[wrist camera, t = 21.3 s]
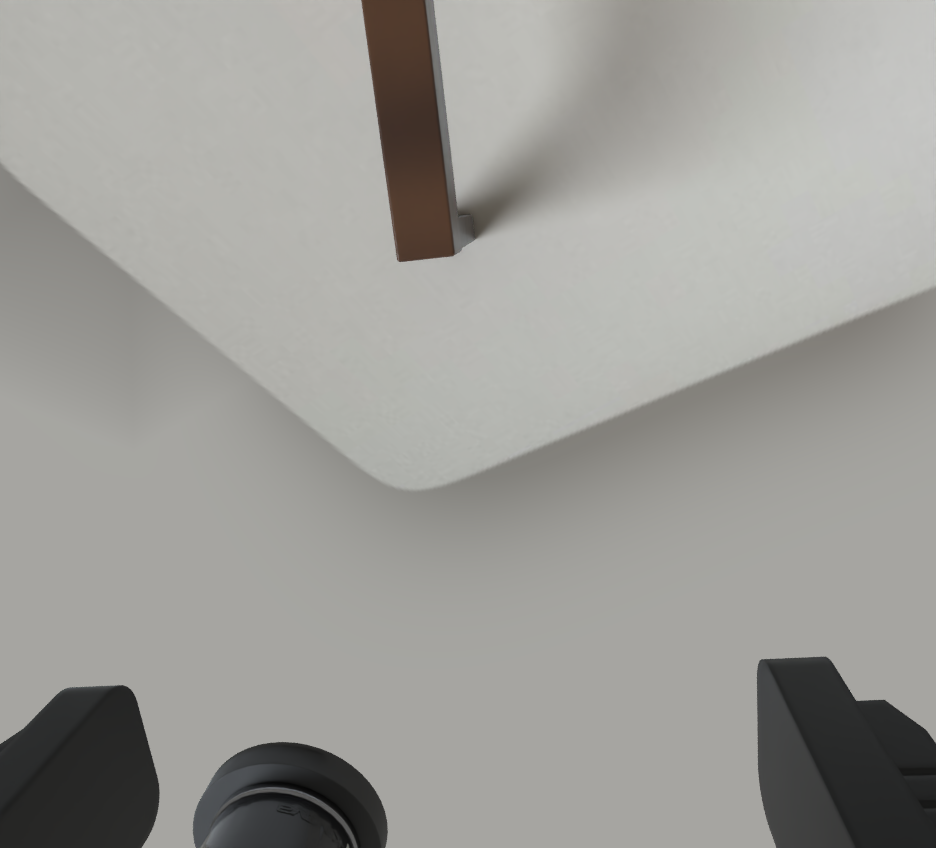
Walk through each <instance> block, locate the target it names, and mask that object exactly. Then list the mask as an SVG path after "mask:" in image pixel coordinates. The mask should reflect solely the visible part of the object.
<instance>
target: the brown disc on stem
mask: <svg viewBox="0 0 936 848" xmlns="http://www.w3.org/2000/svg"><path fill="white" fill-rule="evenodd" d="M361 1H362V9H363V16H364V23H365V30H366V38H367V45H368V52H369V59H370V66H371V74H372V81H373V88H374V95H375V103H376V110H377V117H378V124H379V132H380V139H381V146H382V153H383V161H384V168H385V175H386V182H387V190H388V197H389V204H390V211H391V219H392V226H393V233H394V240H395V248H396V255H397V260H398V261H399V262H405V261H414V260H423V259H432V258H441V257H450V256H454V255H455V254H457V253H459V252H460V251H461V250H462V247H464V246H466V245H467V244H469V243H471V242H472V241H474V240H475V236H474V227H473V218H472V215H471V214H468V215H460V216H458V211H457V202H456V193H455V184H454V176H453V167H452V158H451V150H450V141H449V132H448V124H447V115H446V106H445V98H444V89H443V80H442V71H441V63H440V54H439V45H438V37H437V28H436V19H435V11H434V2H433V0H361Z"/></svg>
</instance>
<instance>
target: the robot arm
mask: <svg viewBox="0 0 936 848" xmlns="http://www.w3.org/2000/svg"><path fill="white" fill-rule="evenodd" d="M757 705H758V708H757V709H758V772H759V782H760V790H761V795H762V801H763V806H764V810H765V814H766V818H767V822H768V825H769V828H770V831H771V834H772V836H773V839H774V842H775V844H776V848H936V743H935V742H934V740H933V739H932V738H931V736H930V735H929V733H928V732H927V731H926V730H925V729H924V728H923V727H921V726H920V725H918V724H917V723H916V722H914V721H913V720H911V719H910V718H909V717H907V716H906V715H904V714H903V713H902V712H900V711H899V710H898V709H896V708H895V707H893V706H892V705H891V704H889V703H888V702H887V701H885V700H869V701H856V700H855V698H854V697H853V695H852V693H851V692H850V690H849V689H848V687H847V685H846V684H845V682H844V681H843V679H842V677H841V676H840V674H839V673H838V671H837V669H836V668H835V666H834V665H833V663H832V662H831V661H830V659H828V658H827V657H809V658H785V659H764V660H763V659H762V660H760V662H759V664H758V670H757ZM158 805H159V783H158V778H157V774H156V771H155V767H154V763H153V759H152V756H151V752H150V748H149V745H148V741H147V737H146V733H145V730H144V726H143V722H142V718H141V715H140V711H139V707H138V703H137V700H136V697H135V696H134V694H133V692H132V691H131V690H130V689H129V688H128V687H126V686H123V685H121V686H120V685H119V686H96V687H74V688H73V687H72V688H67V689H64V690H62V691H61V692H60V693H58V694H57V695H56V696H55V697H54V698H53V699H52V700H51V701H50V702H49V703H48V704H47V705H46V706H45V707H44V708H43V709H42V710H41V711H40V712H39V713H38V714H37V715H36V716H35V718H34V719H33V720H32V721H31V722H30V723H29V724H28V725H27V726H26V727H25V728H24V729H22V730H21V731H19V732H18V733H16V734H15V735H13V736H12V737H10V738H9V739H8V740H6V741H4V742H3V743H1V744H0V848H142V846H143V844H144V843H145V841H146V840H147V838H148V836H149V834H150V832H151V830H152V828H153V825H154V822H155V819H156V816H157V812H158ZM200 848H361V847H360V842H359V838H358V835H357V832H356V830H355V828H354V826H353V824H352V823H351V821H350V820H349V818H348V817H347V816H346V814H345V813H344V812H343V811H342V810H341V809H340V808H339V807H338V806H337V805H336V804H335V803H333V802H332V801H331V800H329V799H328V798H326V797H325V796H323V795H321V794H320V793H318V792H316V791H313V790H311V789H309V788H306V787H303V786H300V785H296V784H291V783H284V782H264V783H258V784H254V785H250V786H248V787H245V788H243V789H241V790H239V791H237V792H235V793H234V794H232V795H231V796H230V797H229V798H228V799H227V800H226V801H225V802H224V803H223V804H222V805H221V806H220V808H219V810H218V811H217V813H216V815H215V817H214V819H213V821H212V823H211V825H210V828H209V832H208V834H207V836H206V838H205V840H204V841H203V843H202V845H201V847H200Z"/></svg>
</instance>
